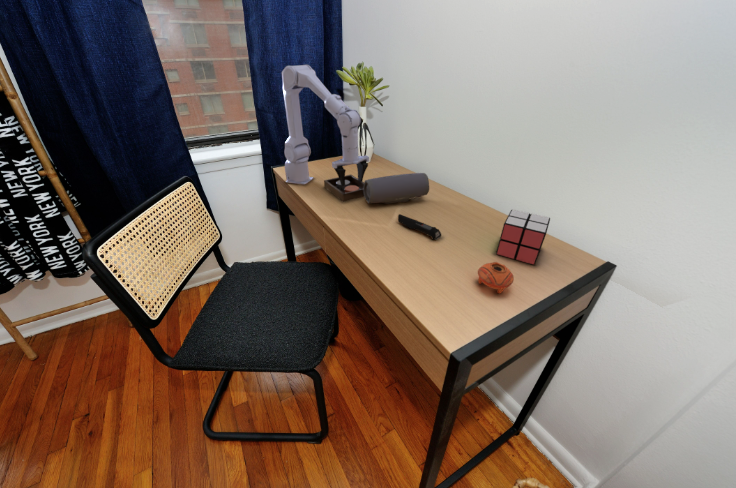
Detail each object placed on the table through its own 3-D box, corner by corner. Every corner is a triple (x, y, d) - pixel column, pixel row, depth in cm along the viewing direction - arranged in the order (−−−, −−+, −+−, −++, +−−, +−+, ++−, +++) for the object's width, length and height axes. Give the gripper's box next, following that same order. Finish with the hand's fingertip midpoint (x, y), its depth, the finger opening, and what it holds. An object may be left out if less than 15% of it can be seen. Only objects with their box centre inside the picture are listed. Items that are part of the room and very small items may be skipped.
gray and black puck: (334, 189, 124) (334, 183, 123) (339, 184, 128) (339, 179, 127) (347, 191, 123) (346, 185, 121) (352, 186, 127) (351, 180, 126)
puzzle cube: (534, 266, 81) (546, 233, 76) (495, 254, 85) (503, 223, 80) (539, 248, 88) (550, 217, 83) (503, 238, 93) (511, 208, 87)
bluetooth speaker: (417, 192, 122) (419, 168, 116) (428, 202, 114) (431, 176, 109) (363, 200, 116) (362, 174, 111) (370, 210, 109) (370, 184, 103)
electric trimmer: (402, 220, 103) (402, 211, 101) (441, 236, 94) (443, 227, 92) (395, 224, 101) (395, 215, 99) (434, 241, 91) (435, 232, 90)
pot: (482, 269, 79) (494, 250, 75) (509, 289, 76) (523, 270, 71) (466, 282, 74) (477, 263, 70) (494, 304, 71) (508, 285, 66)
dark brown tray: (324, 188, 126) (323, 180, 125) (351, 182, 132) (351, 174, 130) (343, 202, 114) (342, 194, 113) (372, 195, 120) (372, 187, 118)
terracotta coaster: (342, 195, 119) (342, 189, 118) (348, 190, 123) (347, 184, 122) (356, 197, 117) (356, 191, 116) (360, 191, 122) (360, 186, 121)
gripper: (337, 153, 104) (339, 190, 112) (373, 146, 111) (373, 182, 118) (328, 148, 110) (331, 184, 117) (363, 142, 116) (363, 176, 123)
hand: (351, 182), depth 118 cm, fingers open, 7 cm apart
